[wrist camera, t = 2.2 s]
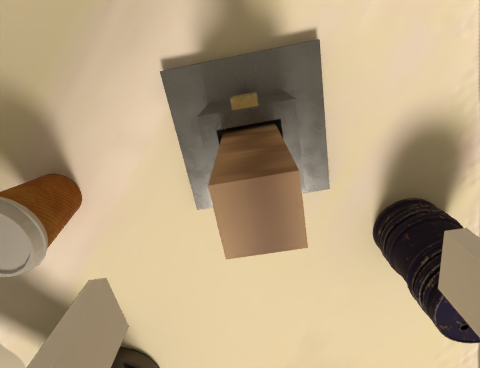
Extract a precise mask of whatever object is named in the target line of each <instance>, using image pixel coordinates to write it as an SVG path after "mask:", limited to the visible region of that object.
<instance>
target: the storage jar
mask: <svg viewBox="0 0 480 368" xmlns="http://www.w3.org/2000/svg"><path fill="white" fill-rule="evenodd" d="M462 228H463V227H462V226H461V225H460V223H459V222H458V221H457V220H455V219H454V218H452V217H451V216H449V215H448V214H447V213H445V212H444V211H442V210H440V209H438V208H437V207H436V206H434V205H433V204H432V203H430V202H428V201H426V200H423V199H416V198H413V199H405V200H401V201H398V202H396V203H394V204H392V205H390V206H389V207H387V208H386V209H385V210H384V211H383V212H382V213H381V214H380V215H379V217H378V218H377V220H376V222H375V224H374V228H373V238H374V241H375V243H376V245H377V246H378V247H379V248H380V250H381V252H382V254H383V256H384V257H385V258H386V260H387V261H388V262H389V264H390V266H391V267H392V268H393V269H394V270H395V271H396V272H397V273H398V274H400V275H401V276H402V277H403V278H404V280H405V281H406V283H407V285H408V288H409V290H410V292H411V294H412V296H413V297H414V299H415V300H416V301H417V303H418V304H419V305H420V307H421V308H422V310H423V311H424V312H425V313H426V314H427V315H428V316H429V317H430V319H431V320H432V321H433V323H434V324H435V326H436V327H437V328H438V330H439V331H440V332H441V333H442V334H443V335H444V336H445V337H447V338H449V339H451V340H454V341H457V342H462V343H480V338H479V337H478V335H477V334H476V333H475V332H474V331H473V329H472V328H471V327H470V326H469V325H468V323H467V322H466V321H465V320H464V319H463V318H462V316H461V315H460V314H459V313H458V312H457V310H456V309H455V308H454V307H453V306H452V304H451V303H450V302H449V301H448V300H447V299H446V297H445V296H444V295H443V294H442V293H441V291H440V290H439V289H438V284H439V275H440V266H441V257H442V248H443V240H444V231H448V230H455V229H462Z"/></svg>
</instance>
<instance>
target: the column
mask: <svg viewBox="0 0 480 368" xmlns="http://www.w3.org/2000/svg"><path fill="white" fill-rule="evenodd" d="M208 188H209V192H210V196H211V200H212V204H213V208H214V212H215V216H216V220H217V224H218V229H219V233H220V237H221V241H222V245H223V249H224V253H225V257H226V259H232V258H239V257H246V256H253V255H260V254H267V253H274V252H281V251H288V250H295V249H302V248H308V245H307V236H306V227H305V217H304V208H303V199H302V190H301V181H300V172H299V169H298V167H297V165H296V163H295V161H294V159H293V157H292V155H291V153H290V151H289V149H288V147H287V146H286V144H285V142H284V140H283V138H282V136H281V134H280V132H279V130H278V128H277V126H276V124H275V122H274V120H270V121H265V122H259V123H254V124H248V125H243V126H237V127H232V128H226V129H224V131H223V135H222V138H221V142H220V145H219V149H218V152H217V156H216V159H215V163H214V166H213V170H212V173H211V177H210V180H209V184H208Z"/></svg>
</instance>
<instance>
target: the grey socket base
mask: <svg viewBox="0 0 480 368" xmlns="http://www.w3.org/2000/svg"><path fill="white" fill-rule="evenodd" d="M160 74H161V78H162V81H163V85H164V89H165V92H166V96H167V100H168V103H169V107H170V111H171V114H172V118H173V122H174V125H175V129H176V133H177V137H178V140H179V144H180V148H181V151H182V155H183V159H184V162H185V166H186V170H187V173H188V177H189V181H190V184H191V188H192V192H193V195H194V199H195V203H196V207H197V210H200V209H206V208H212V207H213V204H212V200H211V196H210V192H209V188H208V184H209V180H210V177H211V173H212V170H213V166H214V163H215V159H216V156H217V152H218V149H219V145H220V142H221V138H222V135H223V131H224V129H226V128H232V127H237V126H243V125H248V124H254V123H259V122H265V121H270V120H274V122H275V124H276V126H277V128H278V130H279V132H280V134H281V136H282V138H283V140H284V142H285V144H286V146H287V147H288V149H289V151H290V153H291V155H292V157H293V159H294V161H295V163H296V165H297V167H298V169H299V172H300V181H301V190H302V193H307V192H313V191H320V190H326V189H330V187H329V172H328V157H327V143H326V128H325V113H324V98H323V84H322V69H321V54H320V39H319V40H314V41H309V42H304V43H299V44H294V45H289V46H284V47H279V48H274V49H269V50H264V51H260V52H255V53H250V54H245V55H240V56H235V57H230V58H225V59H220V60H215V61H210V62H205V63H200V64H195V65H190V66H185V67H180V68H175V69H170V70H165V71H160Z"/></svg>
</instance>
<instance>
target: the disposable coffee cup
mask: <svg viewBox="0 0 480 368" xmlns="http://www.w3.org/2000/svg"><path fill="white" fill-rule="evenodd" d="M81 202H82V197H81V192H80V190H79V188H78V187H77V186H76V184H75V183H74V182H73V181H71V180H70V179H68V178H67V177H65V176H62V175H58V174H49V175H45V176H43V177H40V178H37V179H35V180H32V181H29V182H26V183H23V184H21V185H18V186H15V187H13V188H10V189H7V190H4V191H2V192H0V277H13V276H16V275H19V274H21V273H23V272H26V271H29V270H32V269H34V268H35V267H36V266H38V265H39V264H40V263H41V261H42V260H43V259H44V257H45V254H46V251H47V248H48V247H49V246H50V244H51V243H52V242H53V241H54V239H55V238H56V237H57V235H58V234H59V233H60V232H61V230H62V229H63V228H64V226H65V225H66V224H67V223H68V221H69V220H70V219H71V217H72V216H73V215H74V214H75V212H76V211H77V210H78V209H79V207H80V205H81Z"/></svg>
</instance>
